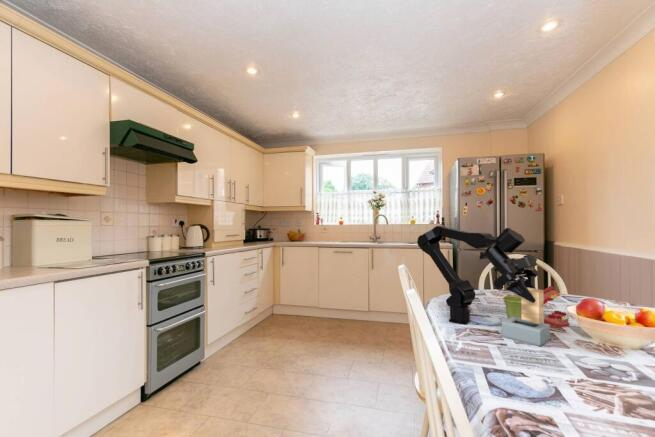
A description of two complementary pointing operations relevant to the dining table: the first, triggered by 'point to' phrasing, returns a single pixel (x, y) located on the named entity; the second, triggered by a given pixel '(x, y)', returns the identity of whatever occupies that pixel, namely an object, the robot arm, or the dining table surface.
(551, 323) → the anatomical model
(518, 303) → the plant pot
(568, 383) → the dining table surface
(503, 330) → the block
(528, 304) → the upright wooden block
